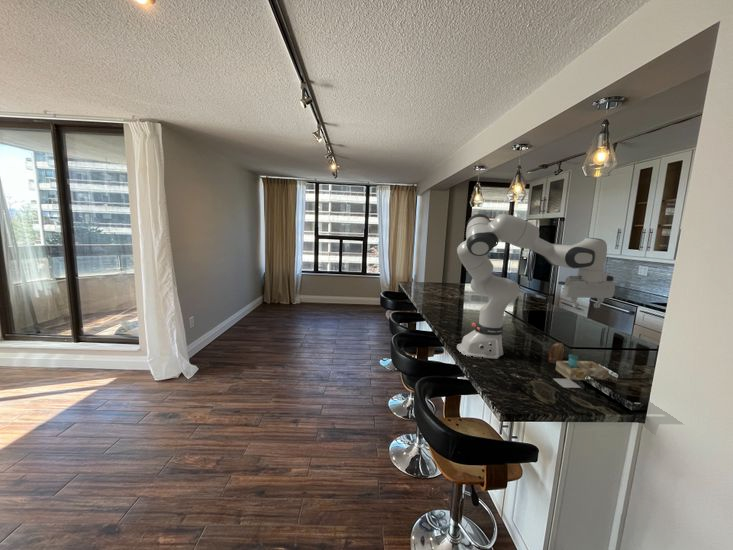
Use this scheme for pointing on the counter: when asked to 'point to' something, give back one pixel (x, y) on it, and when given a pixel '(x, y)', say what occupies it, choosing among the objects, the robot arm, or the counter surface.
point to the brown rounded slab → (556, 352)
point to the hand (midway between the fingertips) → (585, 307)
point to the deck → (567, 383)
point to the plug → (572, 360)
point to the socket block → (581, 370)
